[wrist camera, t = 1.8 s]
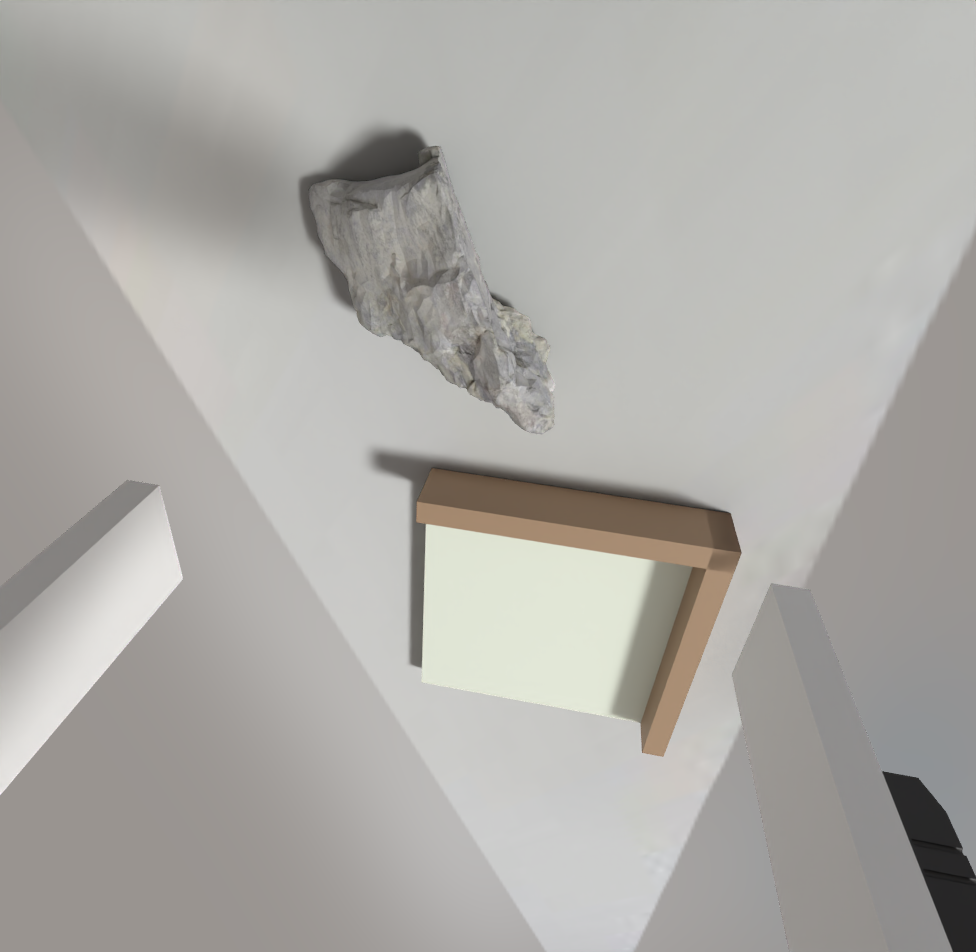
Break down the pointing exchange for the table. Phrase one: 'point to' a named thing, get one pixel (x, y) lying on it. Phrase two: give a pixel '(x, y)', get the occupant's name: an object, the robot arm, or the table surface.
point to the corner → (570, 596)
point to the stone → (432, 286)
